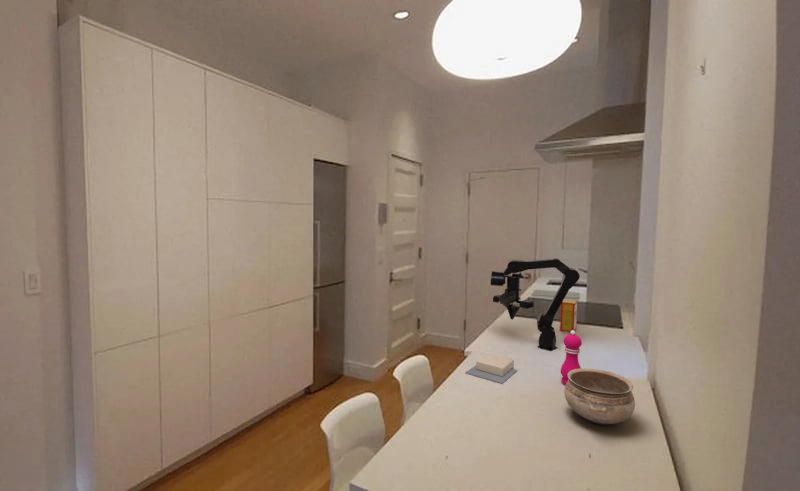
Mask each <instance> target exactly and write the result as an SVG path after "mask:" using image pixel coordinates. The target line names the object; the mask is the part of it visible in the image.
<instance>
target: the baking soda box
mask: <svg viewBox="0 0 800 491" xmlns="http://www.w3.org/2000/svg"><path fill="white" fill-rule="evenodd" d="M578 304H579V302H578V299H577V300H576V299H569V298H564V300H563V302H562V303H561V305H560V322H559V332H563V333H570V332H571V331H572V330H574V331H575V332H576V330H577V323H578V321H577V319H578Z"/></svg>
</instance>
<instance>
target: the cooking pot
mask: <svg viewBox="0 0 800 491" xmlns="http://www.w3.org/2000/svg"><path fill="white" fill-rule="evenodd" d="M568 378H569V379H568V381H567V383H566V386H565V385H564V390H563V391H564V392H563V393H564V398H565V400H566V402H567V405H568V406H569V407H570V408H571V409H572V411H573V412H575V414H577V415H579V416H580V417H582V418H583V419H585V420H587V421H588V422H590V423H592V424H595V425H601V426H605V425H606V426H607V425H613V424H618V423H623V422H625V421H627V420H628V419H629V418H630V417H631V416H632V415H633V413H634V412H635V408H636V402H635V397H634V393H633V392H632V391H633V389H634V386H633V383H632V382H631V381H630V380H629V379H627V378H625V377H624V376H621V375H620V374H617V373H614V372H611V371H607V370H603V369H597V368H589V367H587V368H586V367H585V368H582V367H581V369H574V370H572V371H570V372H569V373H568Z"/></svg>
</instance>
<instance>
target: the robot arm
mask: <svg viewBox="0 0 800 491" xmlns="http://www.w3.org/2000/svg"><path fill="white" fill-rule="evenodd" d="M551 268H555V269H556V270H558V271H559V272H560V273H561V274H562V275H563V276H562V279H561V283H560V286H558V289H557V291H556V293H555V295H554V296H553V298H552V300H551V301H550V303H549V305H548V307H547V309H546V310H545V312H544V313H543V312H540V313H539V316H538V317H537V318H536V326H537V330H538V331H539V332H540V334H539V337H538V345H537V348H540V349H543V350H547V351H549V352H551V351H553V350H556V349H557V348H558V346H557V345H556V344H557V335H556V331H555V330H556V329H555V328H554V326H552V325H553V323H554V318H555V316H556V314H557V312H558V310H559V309H560V308H561V303H562V302H563V300H564V299H566V296H567V294H568V293H569V290H570V289H572V288H573V287H574V286H575V285H576V284H577V282H578V281H579V280H580V277H581V276H580V272H579V271H578V270H577V269H576V268H573V267H570V266H568V265H567V264H565V263H564V262H562V261H561V260H560V259H559V258H557V257H556V258H555V257H554V258H549V259H536V260H523V259H522V260H521V259H511V260H509V262H508V263H507V267H506V268H505V269H504V270H503V271H497V270H492V271H491V277H490V286H495V287H496V286H498V287H504V285H506V288H505V289H504V292H503V293H502V294H497V295H493V297H492V302H493V303H496V304H497V303H498V304H501V305H502V306H504V307H505V308H506V310H507V312H508V315H509V318H510V320H514V319H515V317H516V314H517V313H518V311H519V309H520V308H522V309H531V308H534V307H535V306H534V305H535V304H534V302H533V300H529V299H523V300H521V297H520V292H521V291H522V289H521V288H520V285H521V283H520V282H521V280H520V279H524V278H525V275H524V274H522V272H526V271H528V270H539V269H551Z"/></svg>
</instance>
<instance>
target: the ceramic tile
mask: <svg viewBox="0 0 800 491" xmlns="http://www.w3.org/2000/svg"><path fill="white" fill-rule="evenodd" d="M475 366H476V369H478V370H482V371H485V372H489V373H492V374H496V375H500V376H504V375H505V374H506V373H507V372H508V371H510V370H511V369H514V366H515V360H514V359H511V358H508V357H503V356H499V355H496V354H491V353H487V354H486V355H484V356H482V357H480V358H479V359H478V360H476V362H475Z"/></svg>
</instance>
